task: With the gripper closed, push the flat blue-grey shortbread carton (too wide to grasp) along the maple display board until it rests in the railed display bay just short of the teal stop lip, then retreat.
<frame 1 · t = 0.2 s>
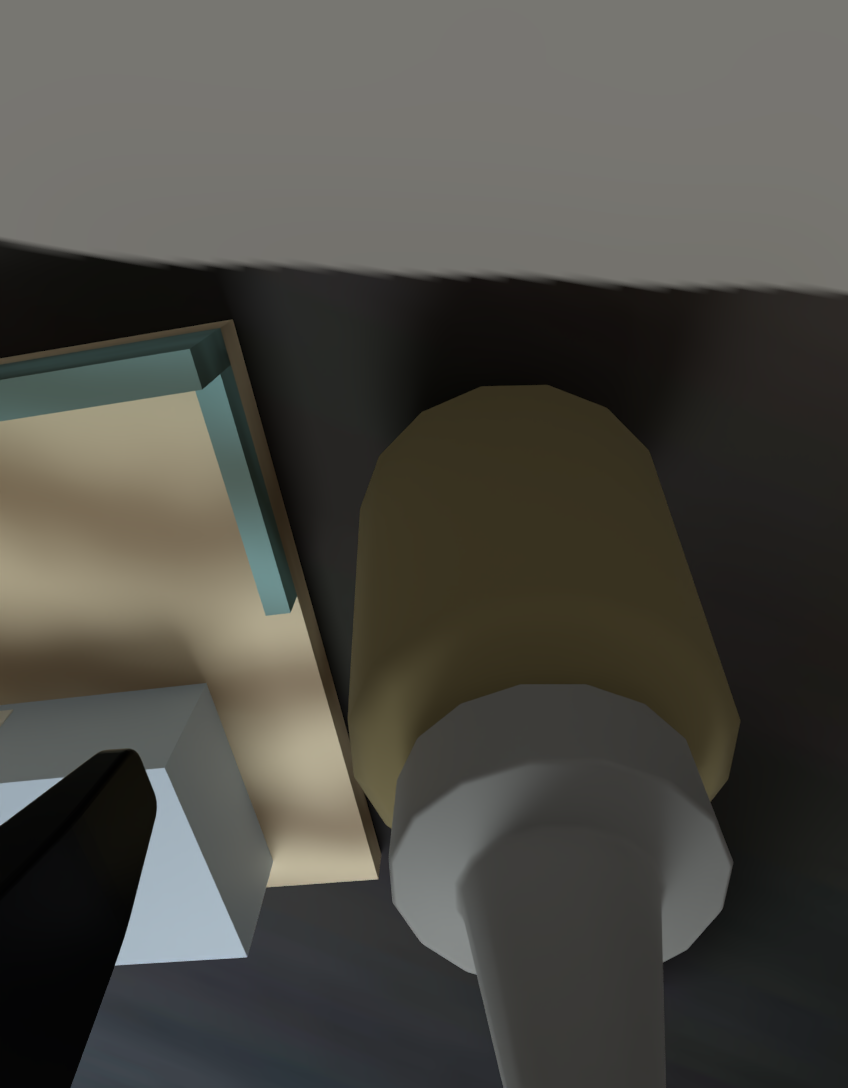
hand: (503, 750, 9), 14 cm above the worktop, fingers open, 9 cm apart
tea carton: (92, 792, 28), point 1 cm above the worktop, touching display board
squeeze bottle: (503, 477, 23), on the worktop
display board: (56, 668, 27), on the worktop
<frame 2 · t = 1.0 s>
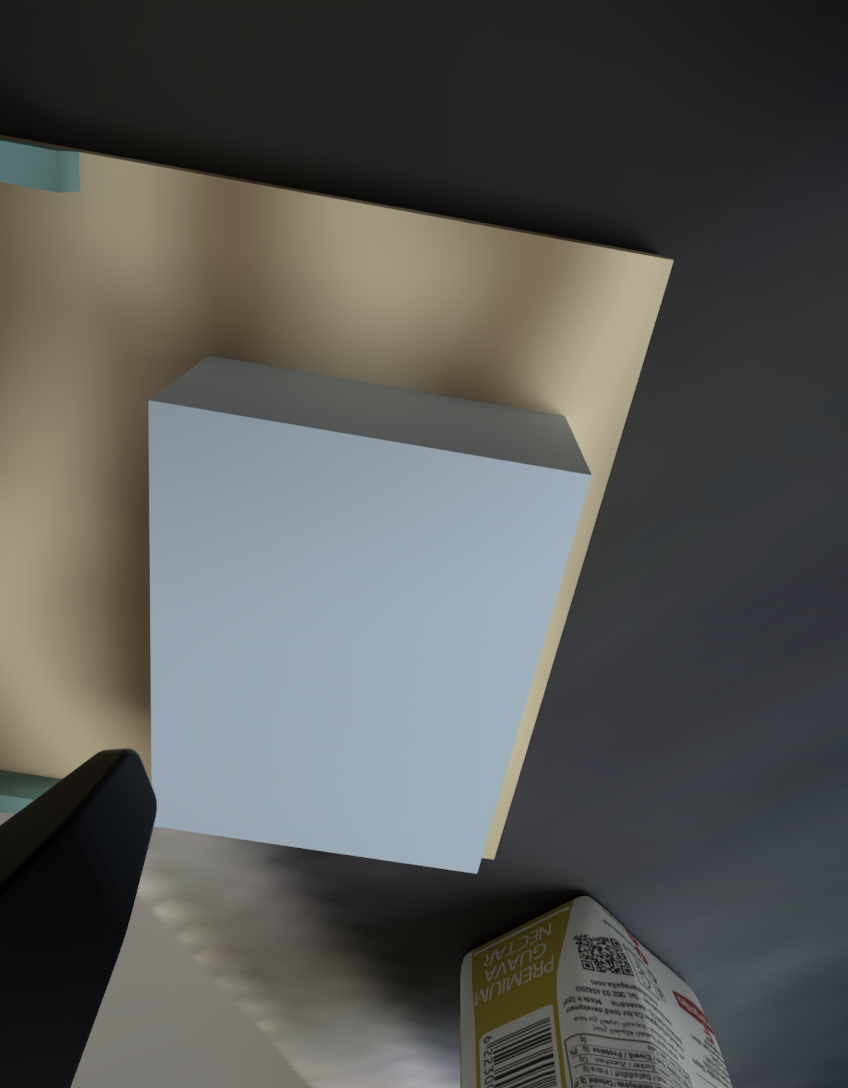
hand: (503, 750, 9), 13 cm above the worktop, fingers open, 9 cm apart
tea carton: (359, 590, 21), point 1 cm above the worktop, touching display board
juice carton: (576, 964, 30), on the worktop
display board: (198, 543, 22), on the worktop
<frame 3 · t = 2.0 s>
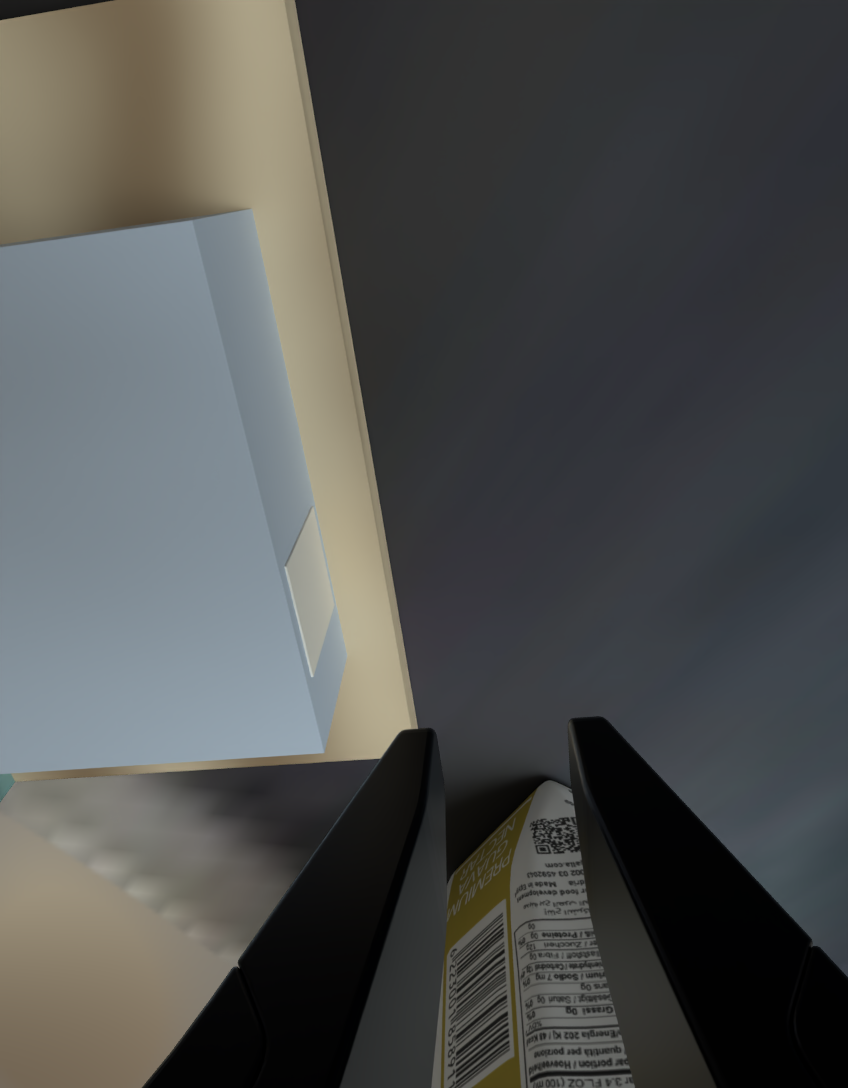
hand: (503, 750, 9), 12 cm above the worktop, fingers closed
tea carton: (139, 482, 19), point 1 cm above the worktop, touching display board
juice carton: (577, 863, 27), on the worktop
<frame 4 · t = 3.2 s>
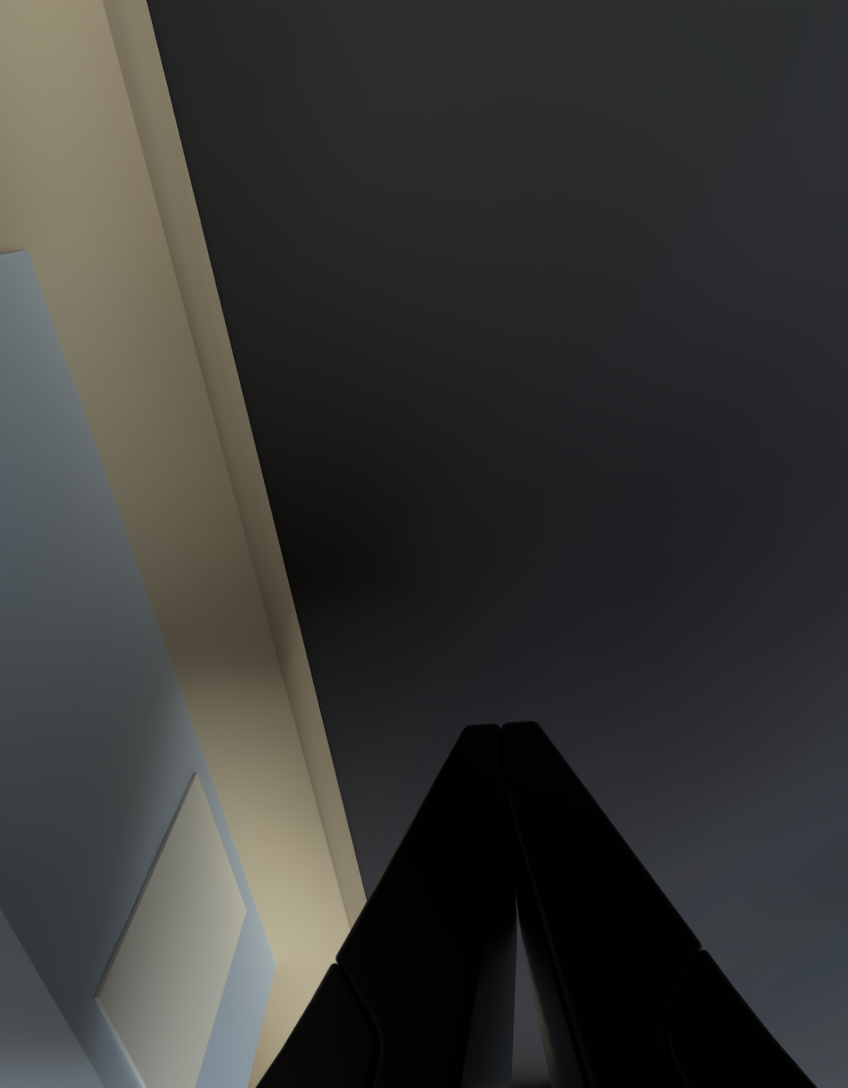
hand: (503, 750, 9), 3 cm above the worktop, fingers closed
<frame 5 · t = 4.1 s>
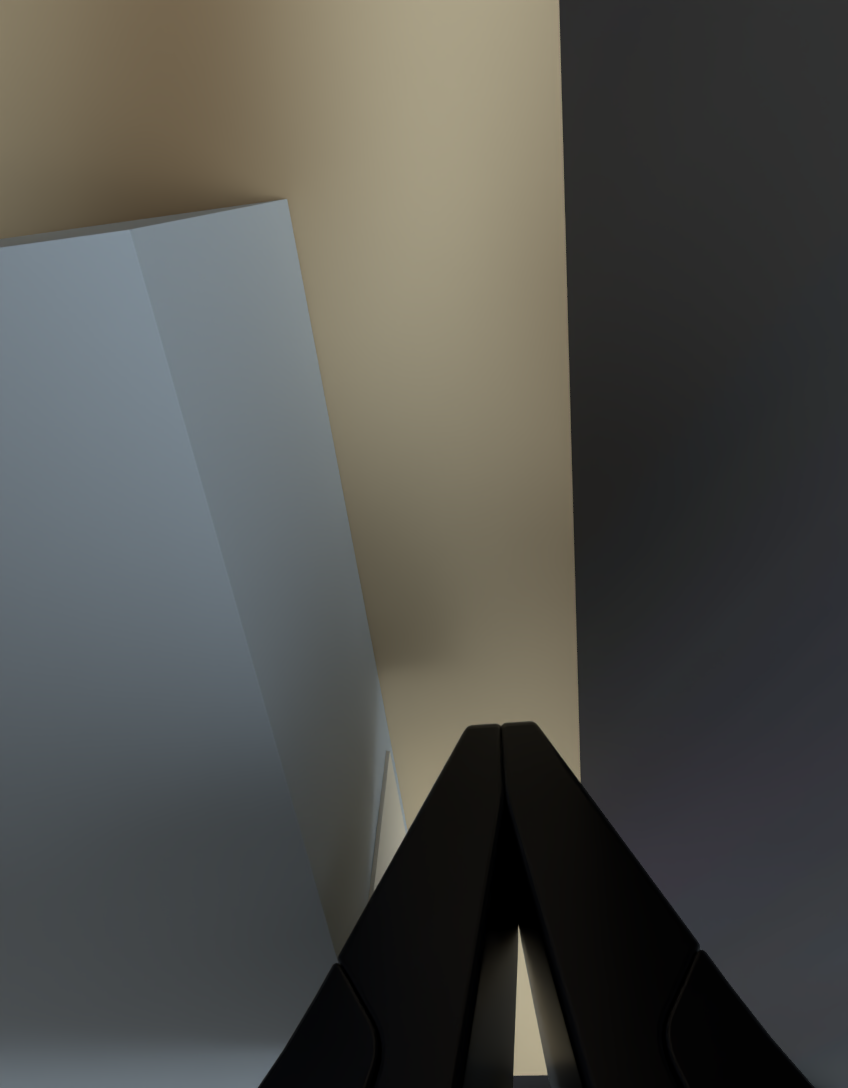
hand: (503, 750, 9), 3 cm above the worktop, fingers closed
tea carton: (69, 699, 11), point 1 cm above the worktop
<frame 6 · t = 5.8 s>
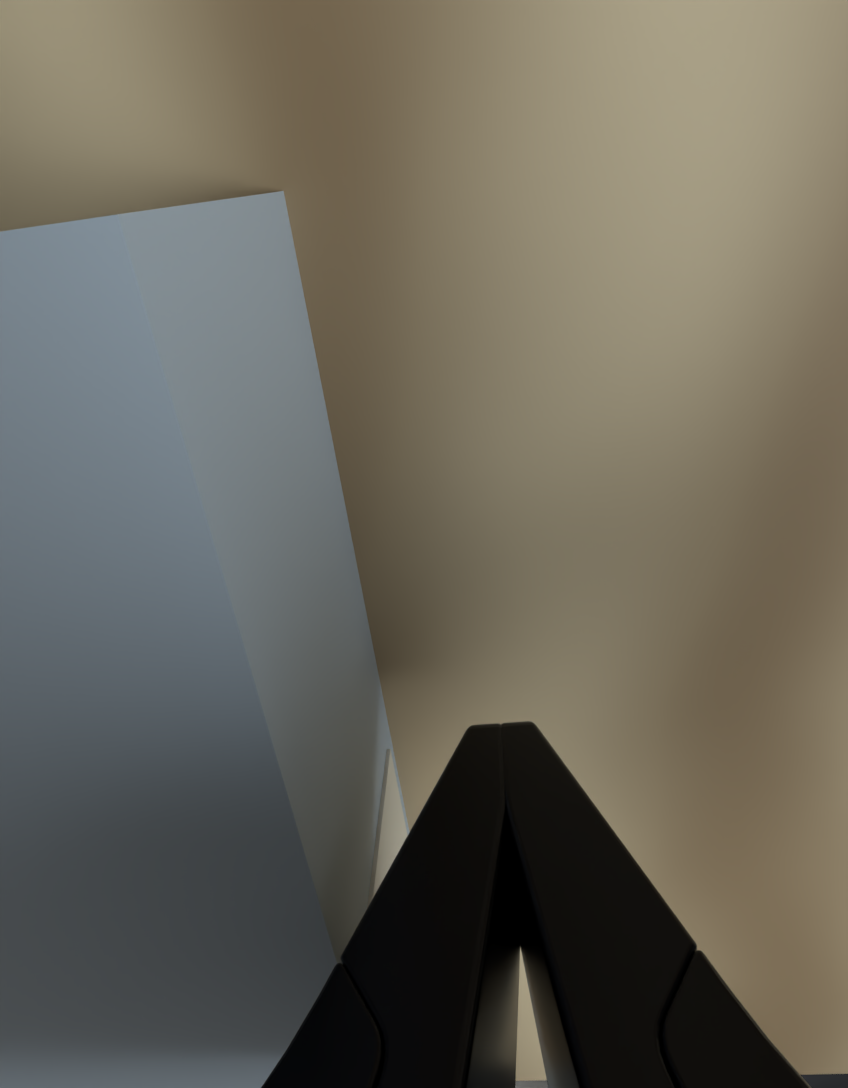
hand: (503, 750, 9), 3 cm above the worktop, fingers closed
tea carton: (68, 697, 10), point 1 cm above the worktop, touching display board, gripper
display board: (355, 633, 11), on the worktop
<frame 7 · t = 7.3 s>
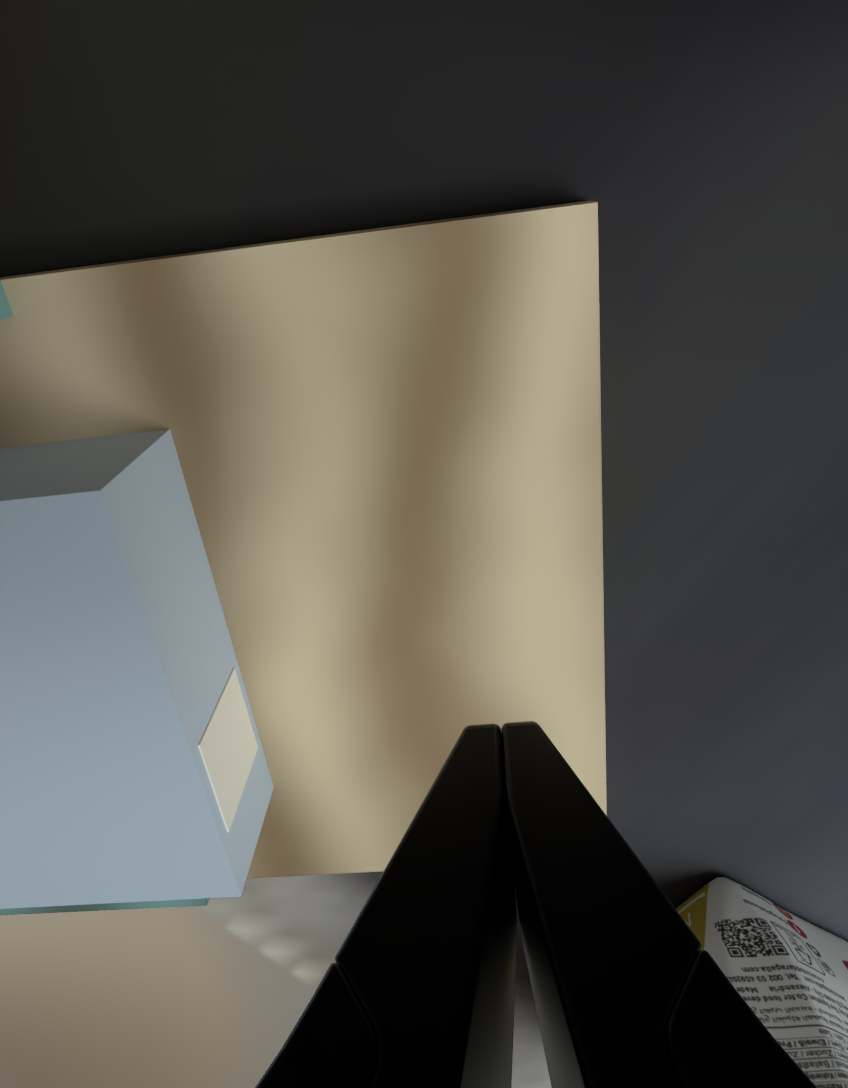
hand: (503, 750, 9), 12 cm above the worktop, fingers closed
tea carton: (78, 643, 21), point 1 cm above the worktop, touching display board
juice carton: (733, 949, 28), on the worktop
display board: (225, 613, 22), on the worktop
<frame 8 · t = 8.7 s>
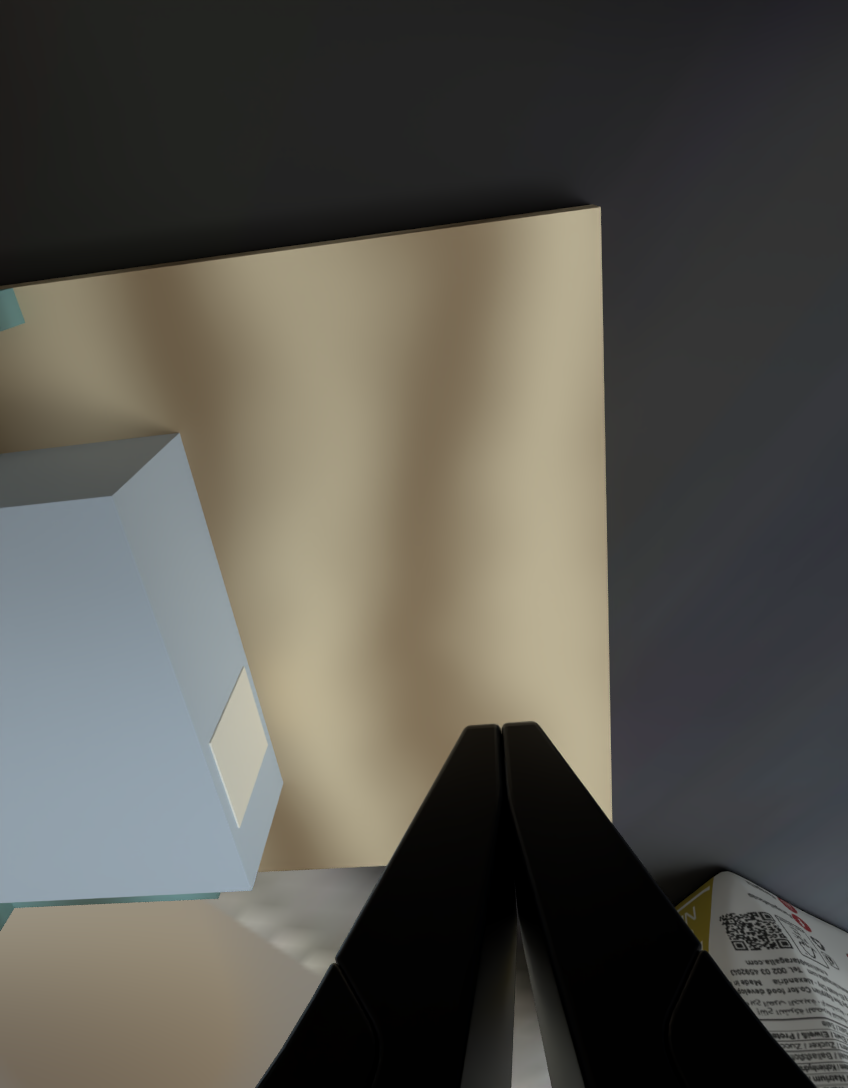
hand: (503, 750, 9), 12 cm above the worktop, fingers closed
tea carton: (91, 642, 22), point 1 cm above the worktop, touching display board
juice carton: (738, 942, 29), on the worktop
display board: (235, 612, 22), on the worktop
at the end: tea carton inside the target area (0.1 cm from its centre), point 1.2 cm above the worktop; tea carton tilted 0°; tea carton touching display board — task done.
